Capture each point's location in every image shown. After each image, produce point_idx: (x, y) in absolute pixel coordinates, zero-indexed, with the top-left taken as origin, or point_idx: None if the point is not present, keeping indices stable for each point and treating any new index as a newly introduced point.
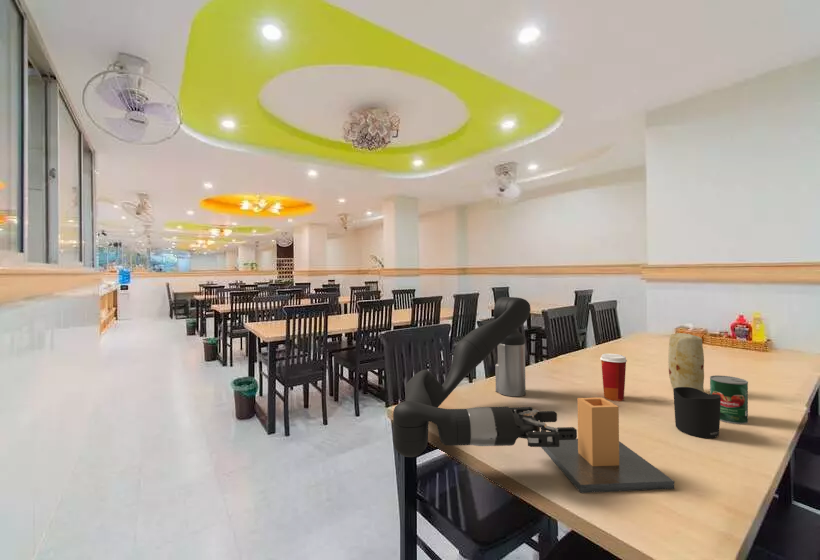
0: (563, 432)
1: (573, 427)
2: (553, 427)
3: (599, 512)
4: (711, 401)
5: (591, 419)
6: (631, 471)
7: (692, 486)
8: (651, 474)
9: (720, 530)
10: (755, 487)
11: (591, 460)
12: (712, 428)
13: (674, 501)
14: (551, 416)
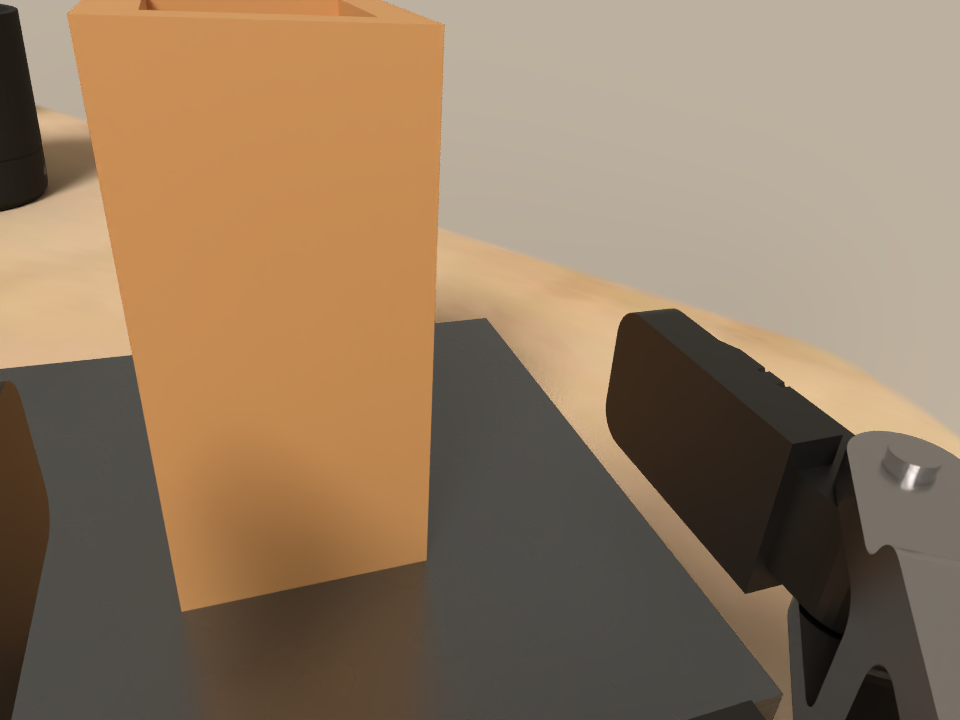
0: (834, 422)
1: (645, 312)
2: (862, 475)
3: None
4: (17, 23)
5: (431, 175)
6: (440, 405)
7: (440, 311)
8: (447, 356)
9: (720, 338)
10: None
11: (414, 531)
12: (41, 147)
13: (588, 375)
14: (9, 498)
